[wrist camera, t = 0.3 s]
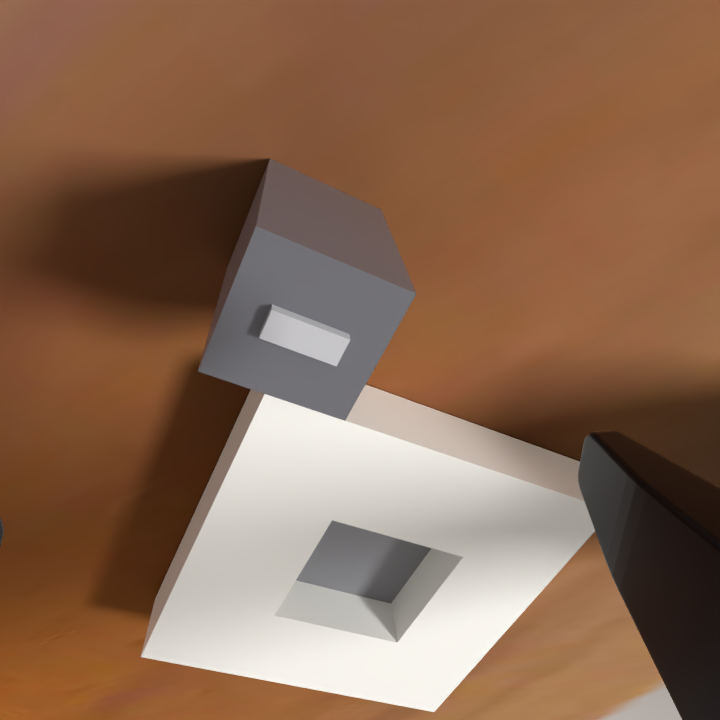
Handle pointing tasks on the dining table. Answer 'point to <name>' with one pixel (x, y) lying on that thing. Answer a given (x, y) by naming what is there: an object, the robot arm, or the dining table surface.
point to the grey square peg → (307, 295)
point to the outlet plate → (364, 549)
